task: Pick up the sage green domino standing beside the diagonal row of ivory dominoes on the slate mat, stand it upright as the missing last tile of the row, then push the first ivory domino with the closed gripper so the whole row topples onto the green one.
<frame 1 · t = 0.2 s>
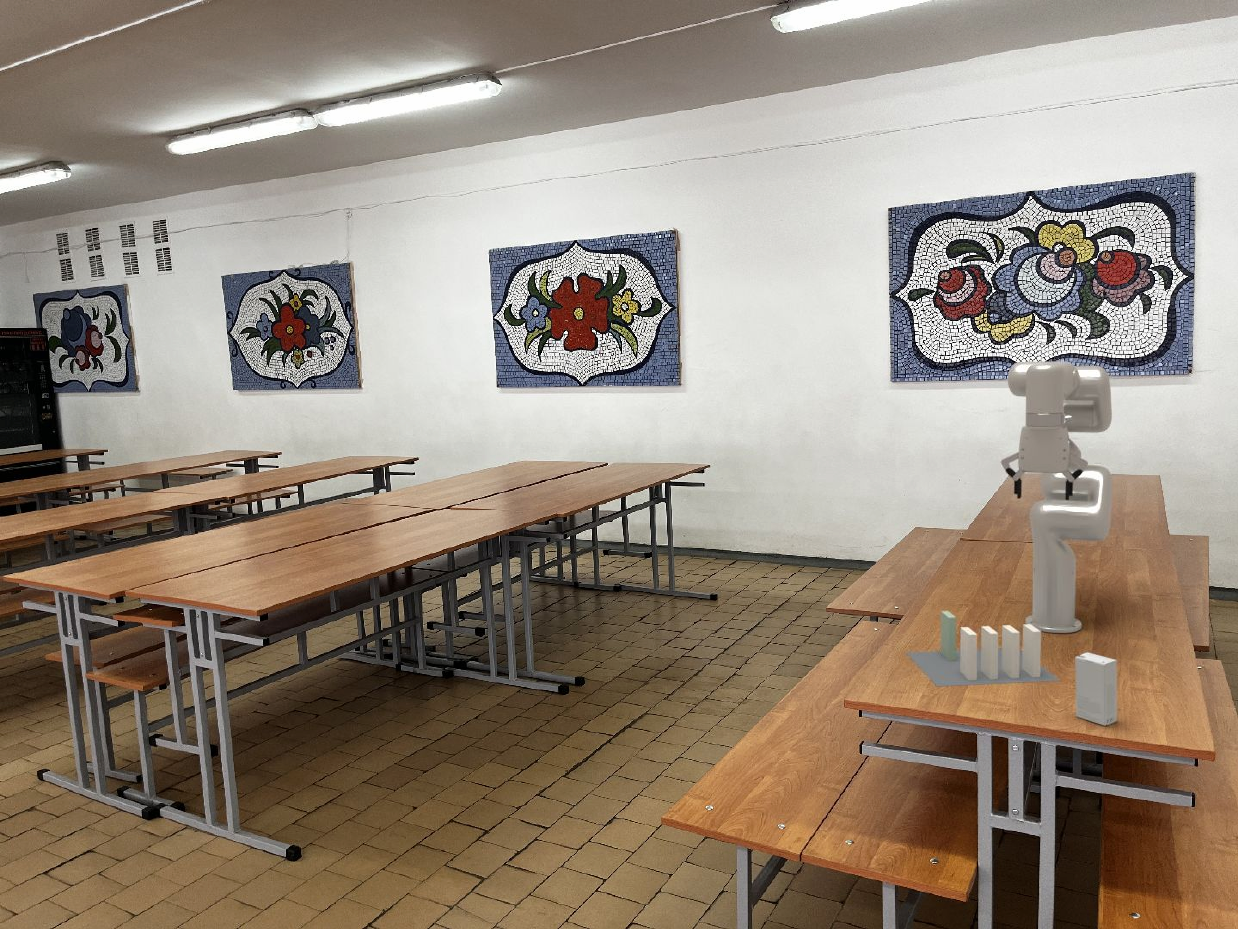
hand: (1043, 498, 205), 36 cm above the table, tool pointing down, fingers open, 9 cm apart
domino end: (948, 656, 212), resting on slate mat
domino 1: (1031, 673, 200), resting on slate mat
domino 4: (968, 676, 200), resting on slate mat
domino 2: (1010, 674, 200), resting on slate mat
slate mat: (979, 667, 206), on the table
skincare box: (1095, 720, 177), on the table
domino 3: (989, 675, 200), resting on slate mat
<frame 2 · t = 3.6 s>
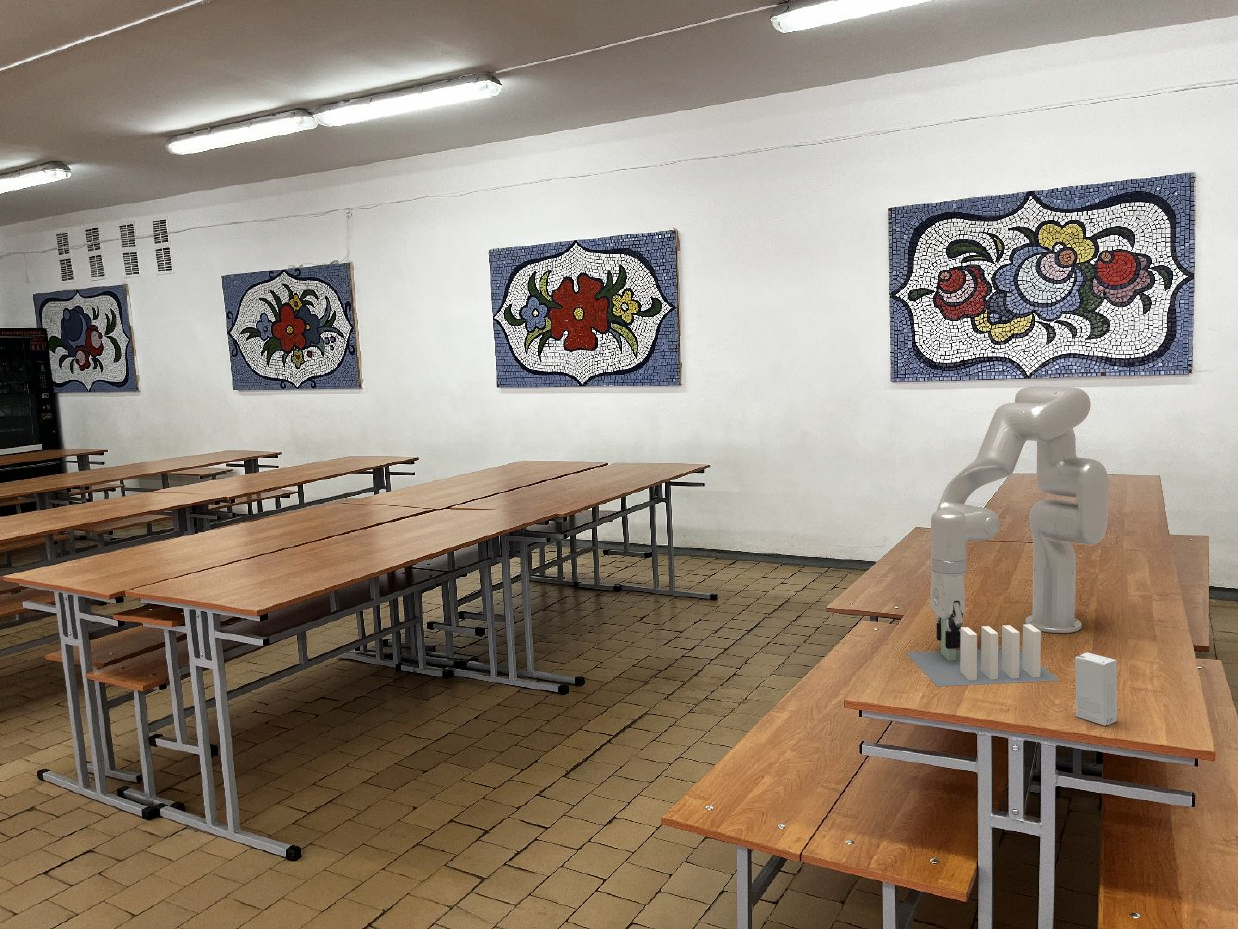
hand: (948, 643, 212), 4 cm above the table, tool pointing down, fingers closed on domino end, 4 cm apart
domino end: (948, 656, 212), resting on slate mat, touching gripper
everything else where it was.
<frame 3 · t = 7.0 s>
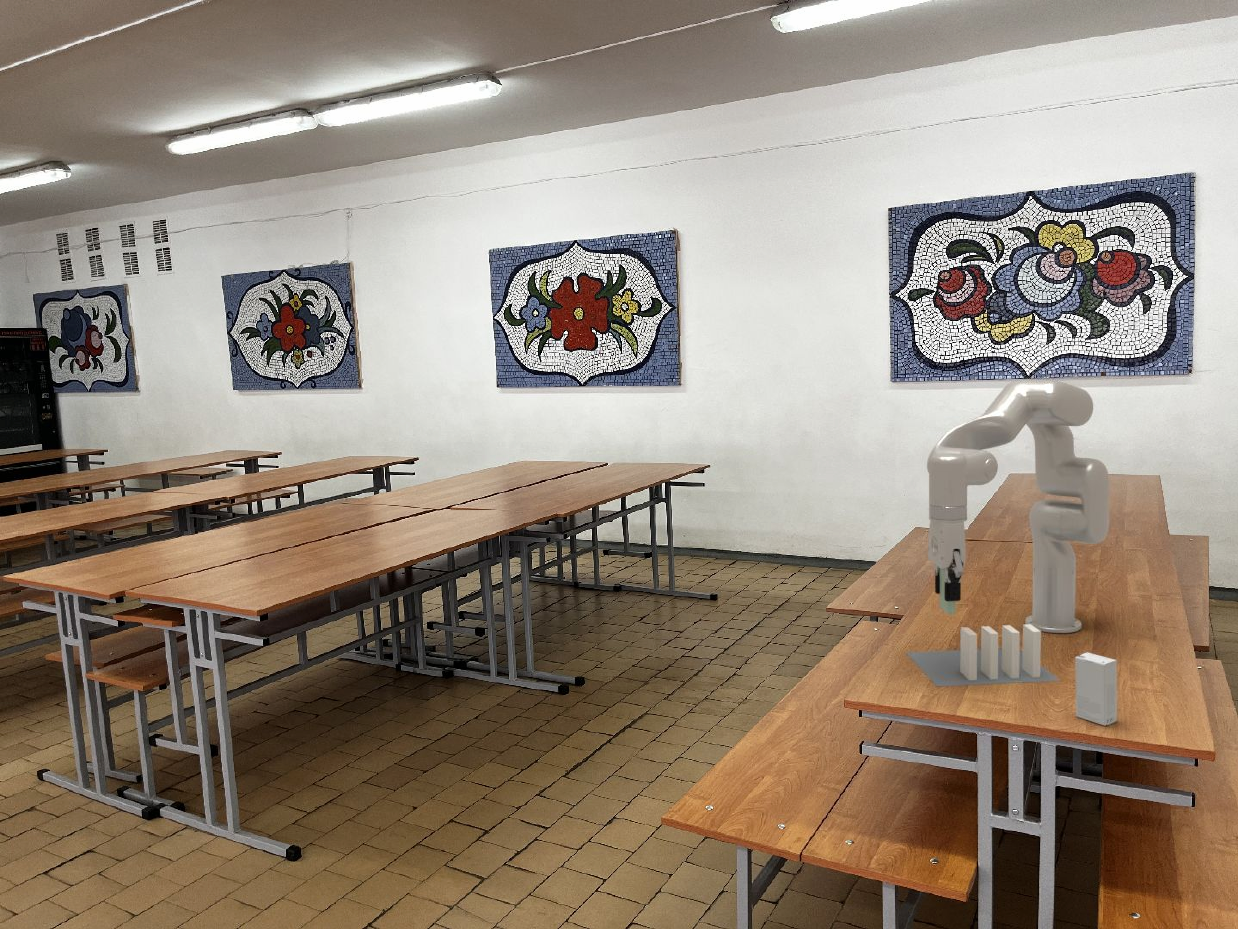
hand: (947, 596, 198), 18 cm above the table, tool pointing down, fingers closed on domino end, 4 cm apart
domino end: (947, 610, 198), point 15 cm above the table, touching gripper
everything else where it was.
when the fingers open (4 cm above the table, at t = 10.6 s): domino end stays where it is, resting on slate mat.
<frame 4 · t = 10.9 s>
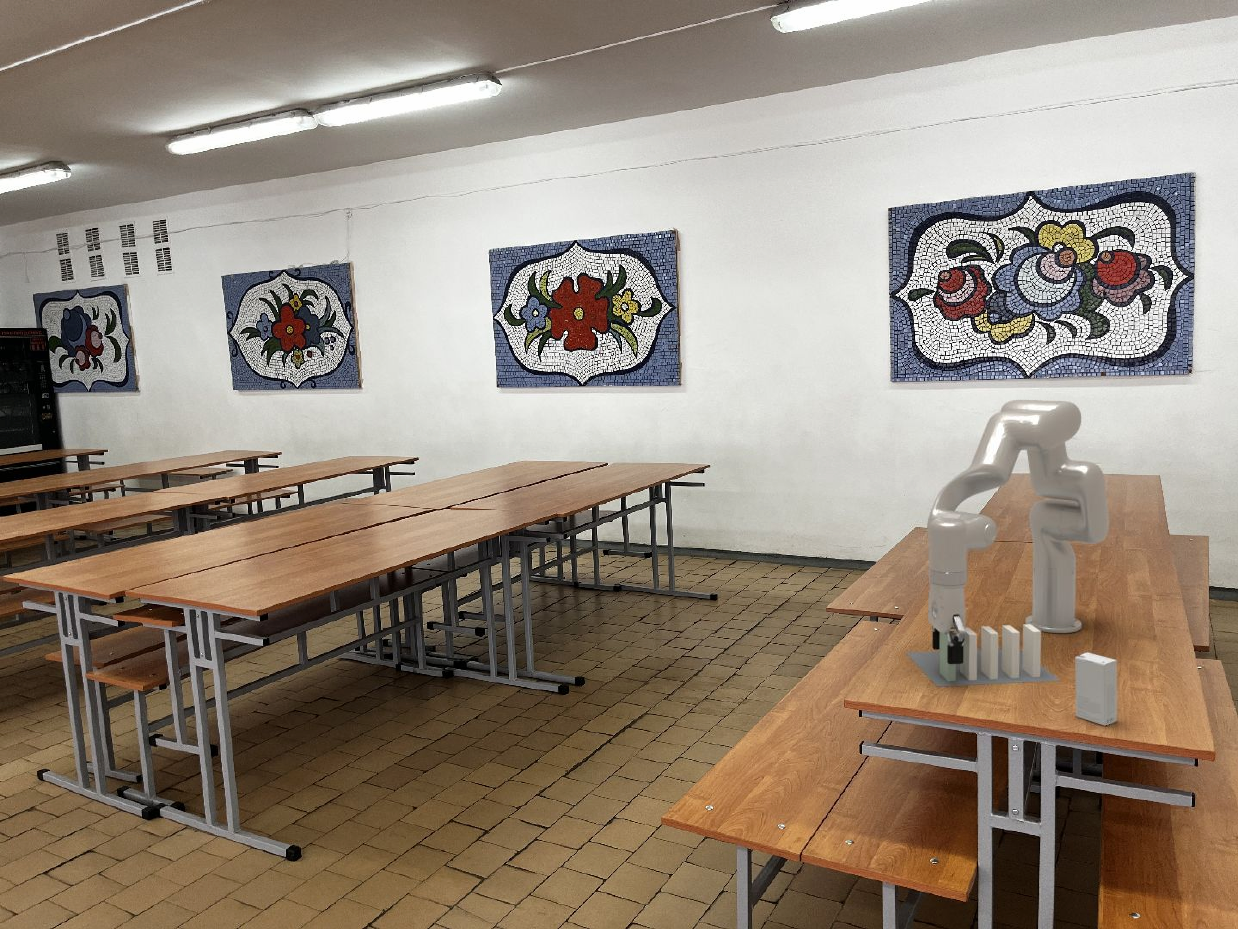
hand: (947, 656, 200), 5 cm above the table, tool pointing down, fingers open, 8 cm apart
domino end: (947, 677, 200), resting on slate mat
everything else where it was.
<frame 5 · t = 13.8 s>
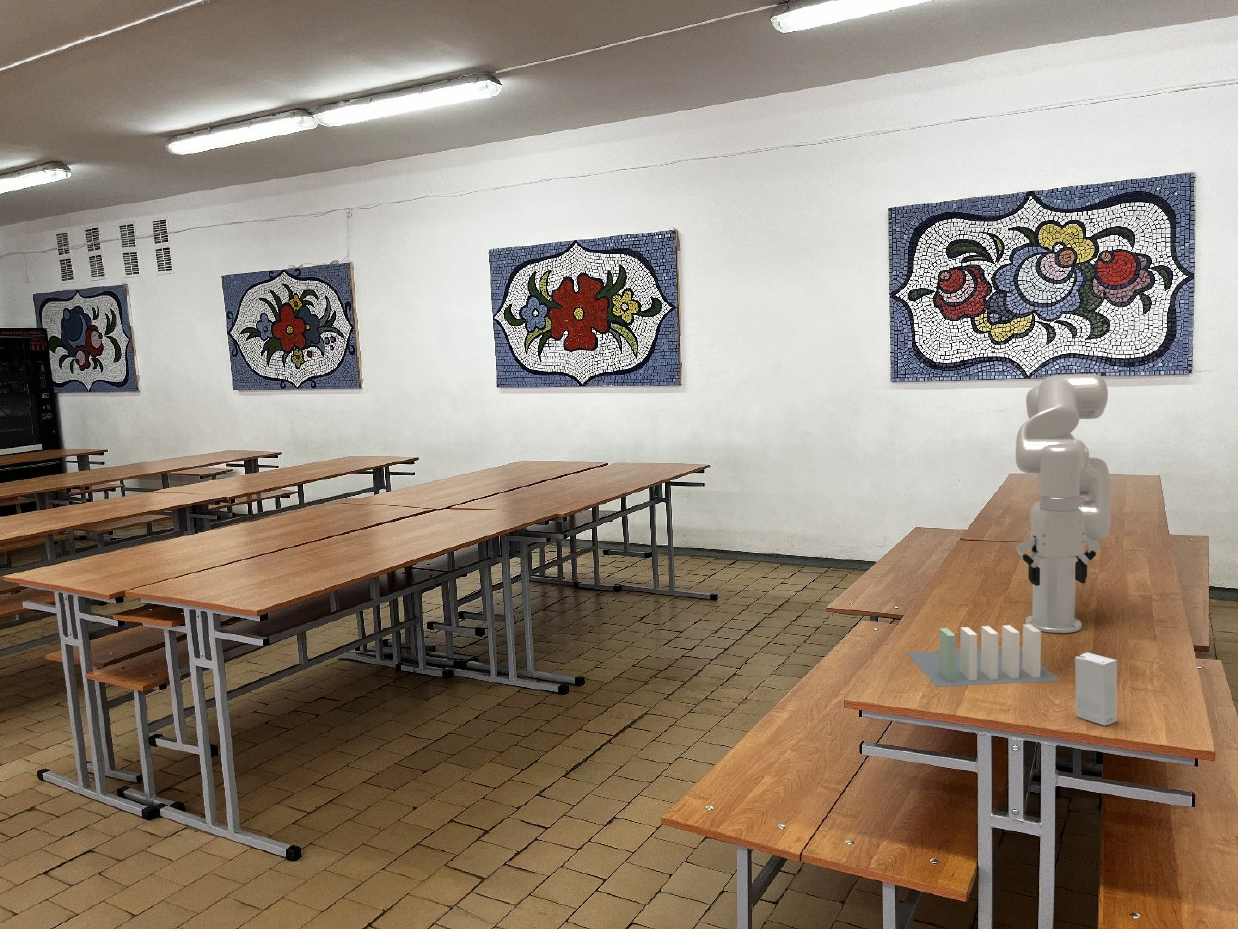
hand: (1057, 582, 198), 20 cm above the table, tool pointing down, fingers open, 9 cm apart
nothing on the table moved.
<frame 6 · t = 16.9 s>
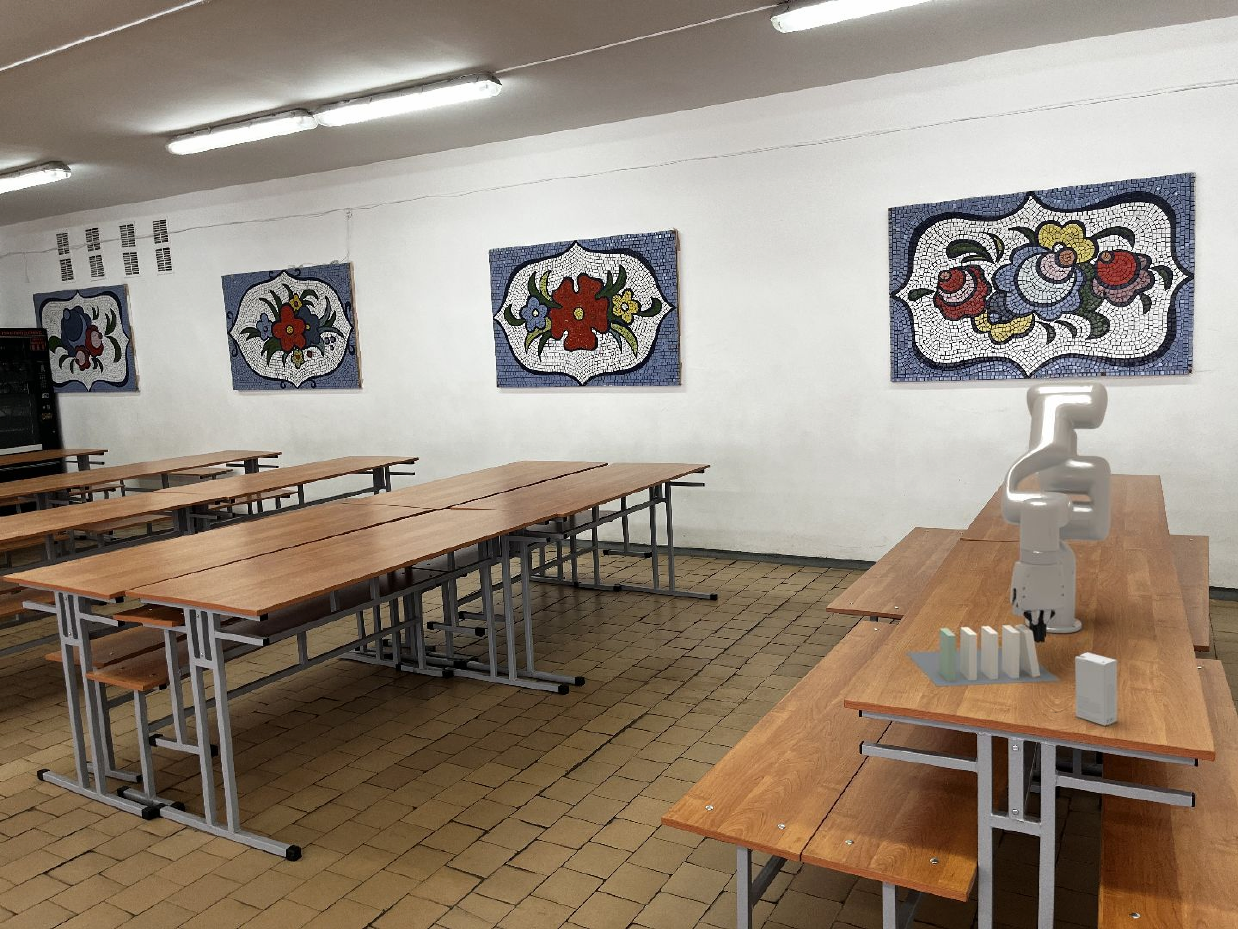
hand: (1037, 640, 199), 8 cm above the table, tool pointing down, fingers closed
domino 1: (1031, 672, 200), point 1 cm above the table, tilted 10°, touching slate mat
everything else where it was.
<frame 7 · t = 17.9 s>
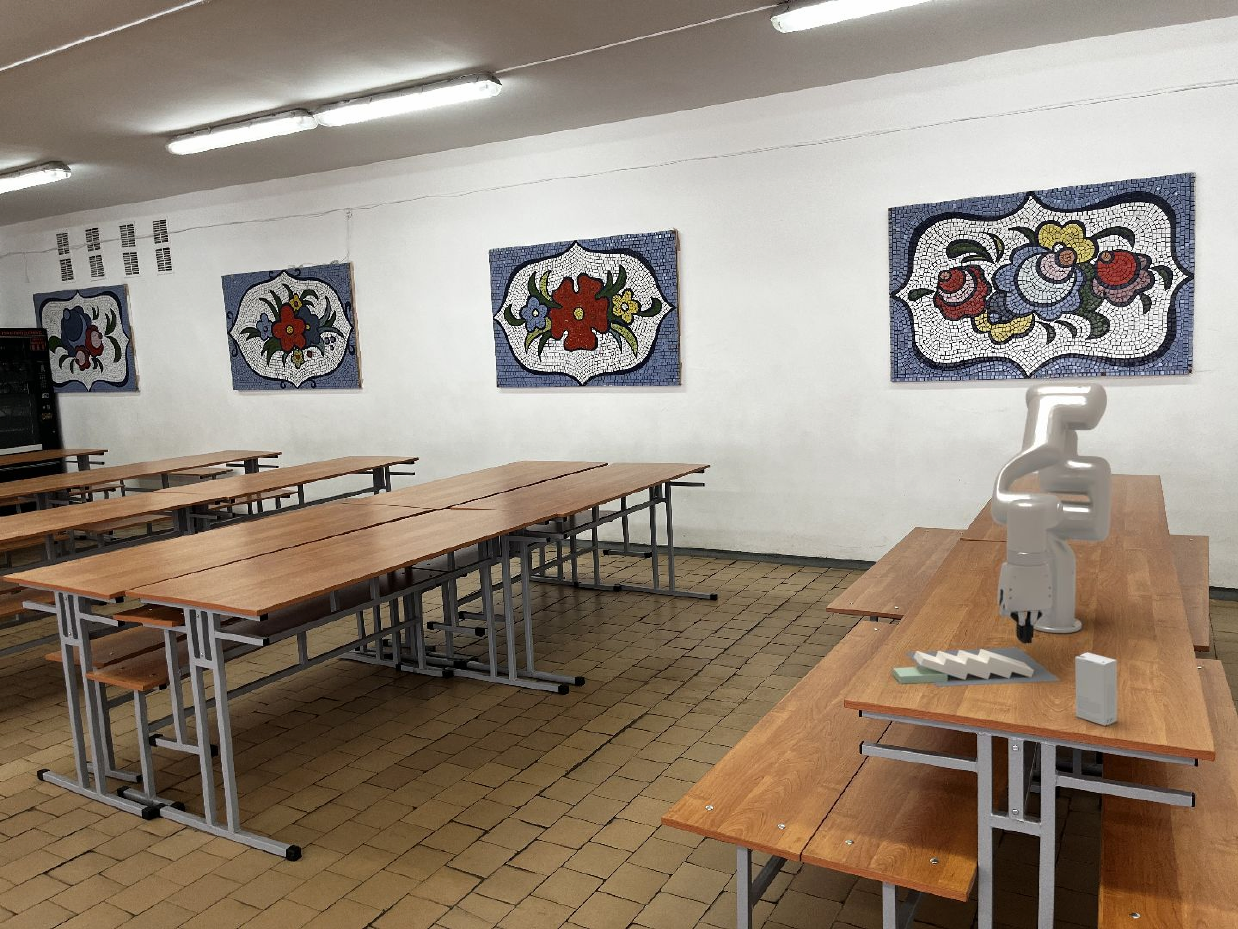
hand: (1024, 641, 199), 8 cm above the table, tool pointing down, fingers closed
domino end: (943, 673, 200), point 1 cm above the table, tilted 90°, touching domino 4, slate mat
domino 1: (1027, 669, 200), point 1 cm above the table, tilted 69°, touching domino 2, slate mat
domino 4: (962, 672, 200), point 1 cm above the table, tilted 69°, touching domino 3, domino end
domino 2: (1005, 670, 200), point 1 cm above the table, tilted 69°, touching domino 1, domino 3, slate mat
domino 3: (984, 672, 200), point 1 cm above the table, tilted 69°, touching domino 2, domino 4, slate mat
everything else where it was.
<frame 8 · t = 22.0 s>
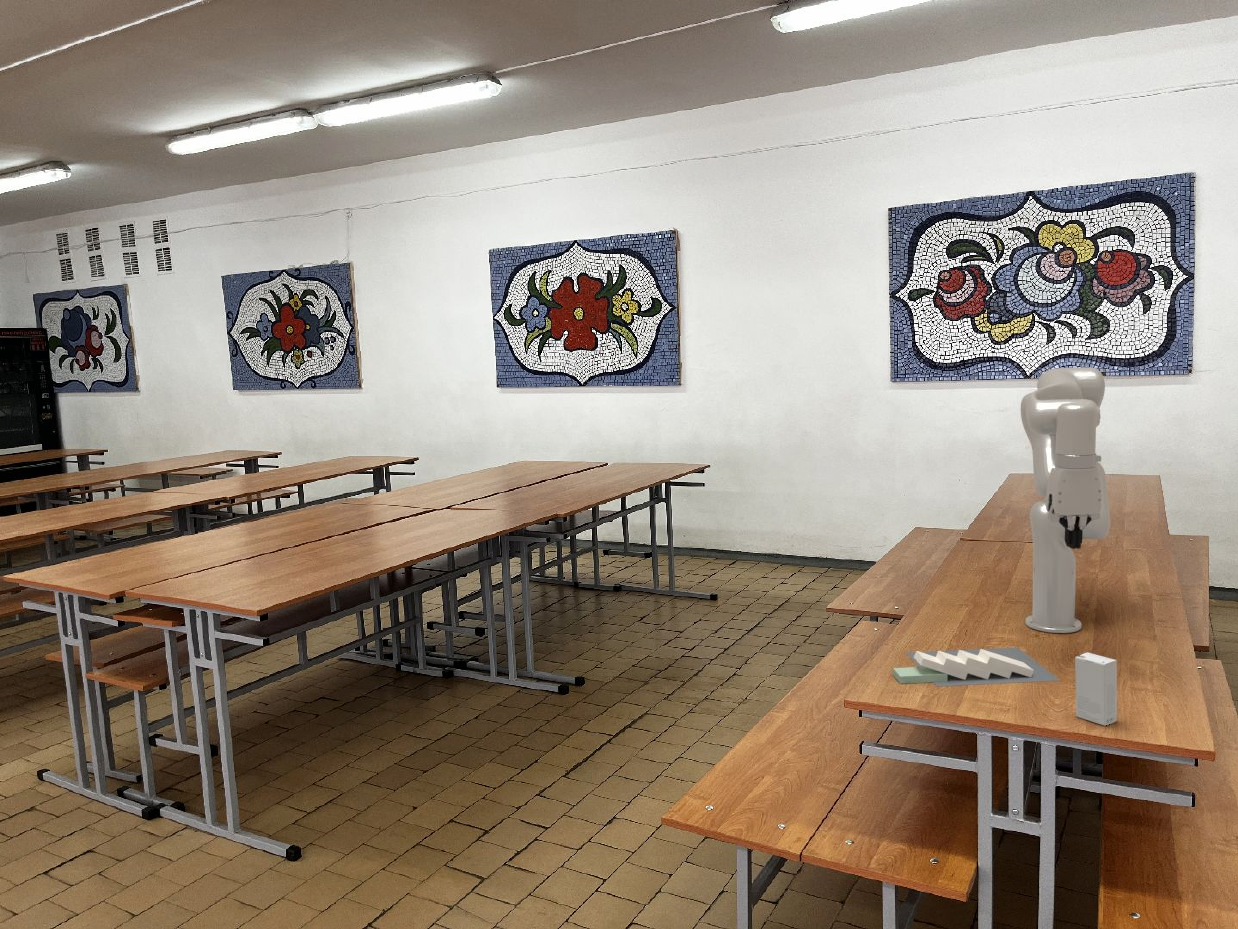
hand: (1073, 547, 199), 27 cm above the table, tool pointing down, fingers closed
nothing on the table moved.
at the end: domino 4 tilted 69°; domino end tilted 90°; domino end inside the target area (0.9 cm from its centre), point 1.2 cm above the table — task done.
